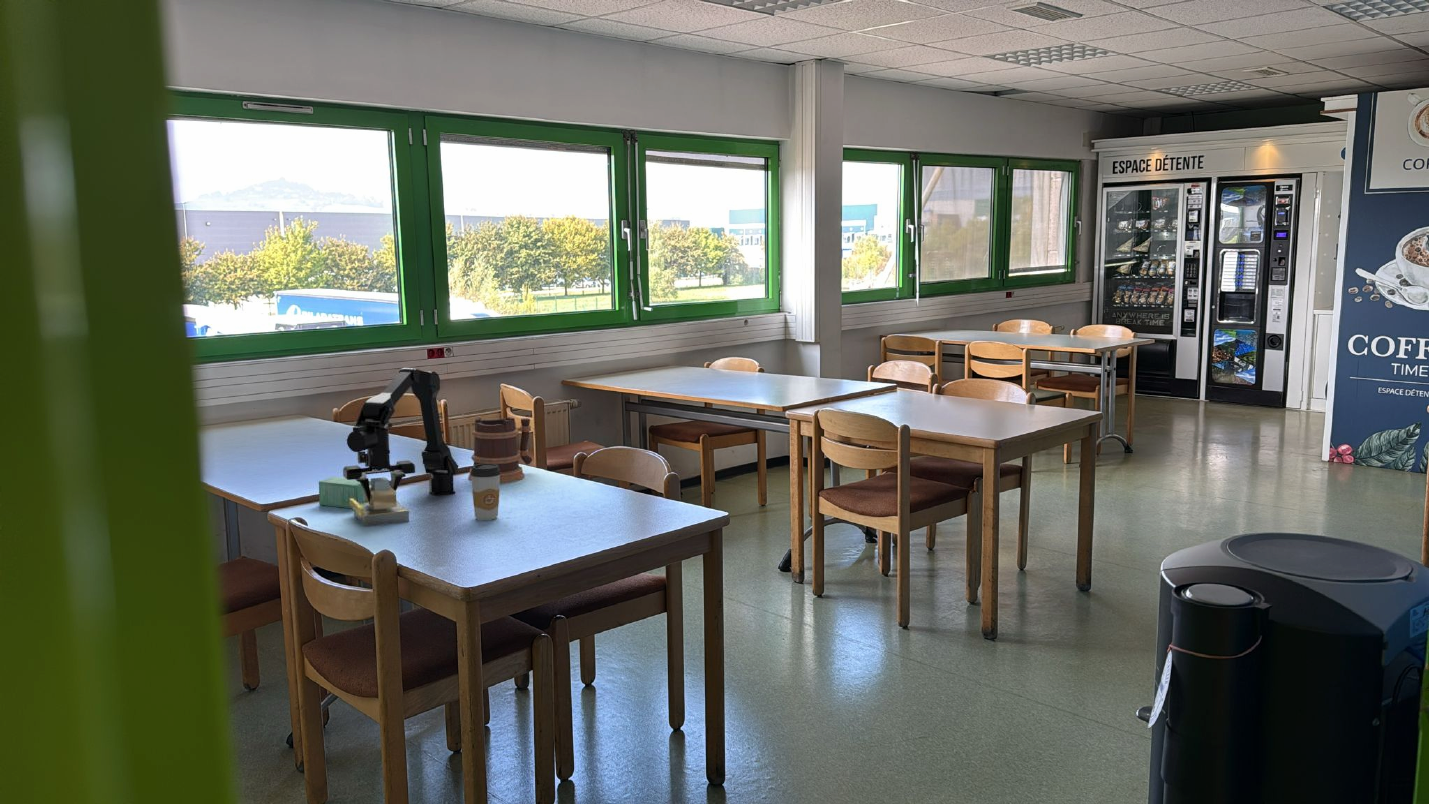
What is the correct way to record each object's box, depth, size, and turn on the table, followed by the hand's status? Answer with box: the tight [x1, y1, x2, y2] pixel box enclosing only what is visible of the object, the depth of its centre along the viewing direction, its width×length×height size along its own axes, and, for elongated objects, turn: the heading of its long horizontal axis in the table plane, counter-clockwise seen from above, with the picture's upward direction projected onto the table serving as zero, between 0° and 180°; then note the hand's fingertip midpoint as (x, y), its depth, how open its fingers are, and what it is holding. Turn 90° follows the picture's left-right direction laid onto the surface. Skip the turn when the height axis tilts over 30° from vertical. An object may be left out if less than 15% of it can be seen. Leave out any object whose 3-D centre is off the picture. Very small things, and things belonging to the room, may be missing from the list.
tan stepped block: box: [365, 485, 397, 509], centre depth 295 cm, size 11×6×4 cm, turn 31°
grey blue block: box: [370, 476, 391, 491], centre depth 294 cm, size 5×4×2 cm
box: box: [318, 476, 371, 509], centre depth 310 cm, size 7×14×8 cm, turn 73°
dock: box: [349, 498, 410, 527], centre depth 295 cm, size 13×14×5 cm
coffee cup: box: [469, 464, 501, 521], centre depth 296 cm, size 8×8×15 cm
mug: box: [467, 416, 533, 484], centre depth 348 cm, size 18×23×20 cm
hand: (380, 499), depth 295 cm, fingers closed on tan stepped block, 6 cm apart
